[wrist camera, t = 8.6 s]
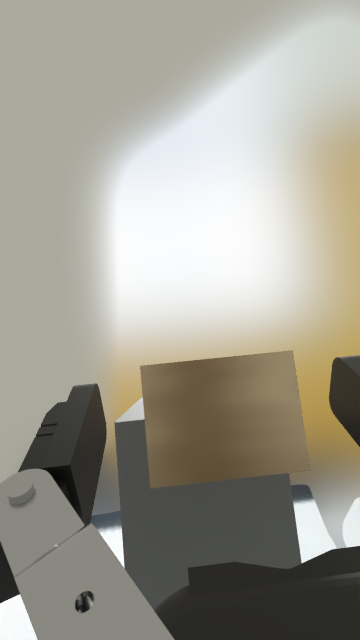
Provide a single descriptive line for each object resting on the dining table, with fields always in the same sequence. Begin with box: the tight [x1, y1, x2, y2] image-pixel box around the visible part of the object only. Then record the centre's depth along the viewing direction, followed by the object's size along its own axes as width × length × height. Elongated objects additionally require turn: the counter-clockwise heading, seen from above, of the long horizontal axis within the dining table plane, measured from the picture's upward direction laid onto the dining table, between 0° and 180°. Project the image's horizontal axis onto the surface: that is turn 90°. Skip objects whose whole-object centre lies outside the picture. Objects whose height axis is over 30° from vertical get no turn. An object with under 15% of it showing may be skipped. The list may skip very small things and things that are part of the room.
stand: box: [115, 397, 301, 610], centre depth 27 cm, size 10×20×37 cm, turn 1°
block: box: [140, 351, 310, 489], centre depth 23 cm, size 4×30×3 cm, turn 1°
